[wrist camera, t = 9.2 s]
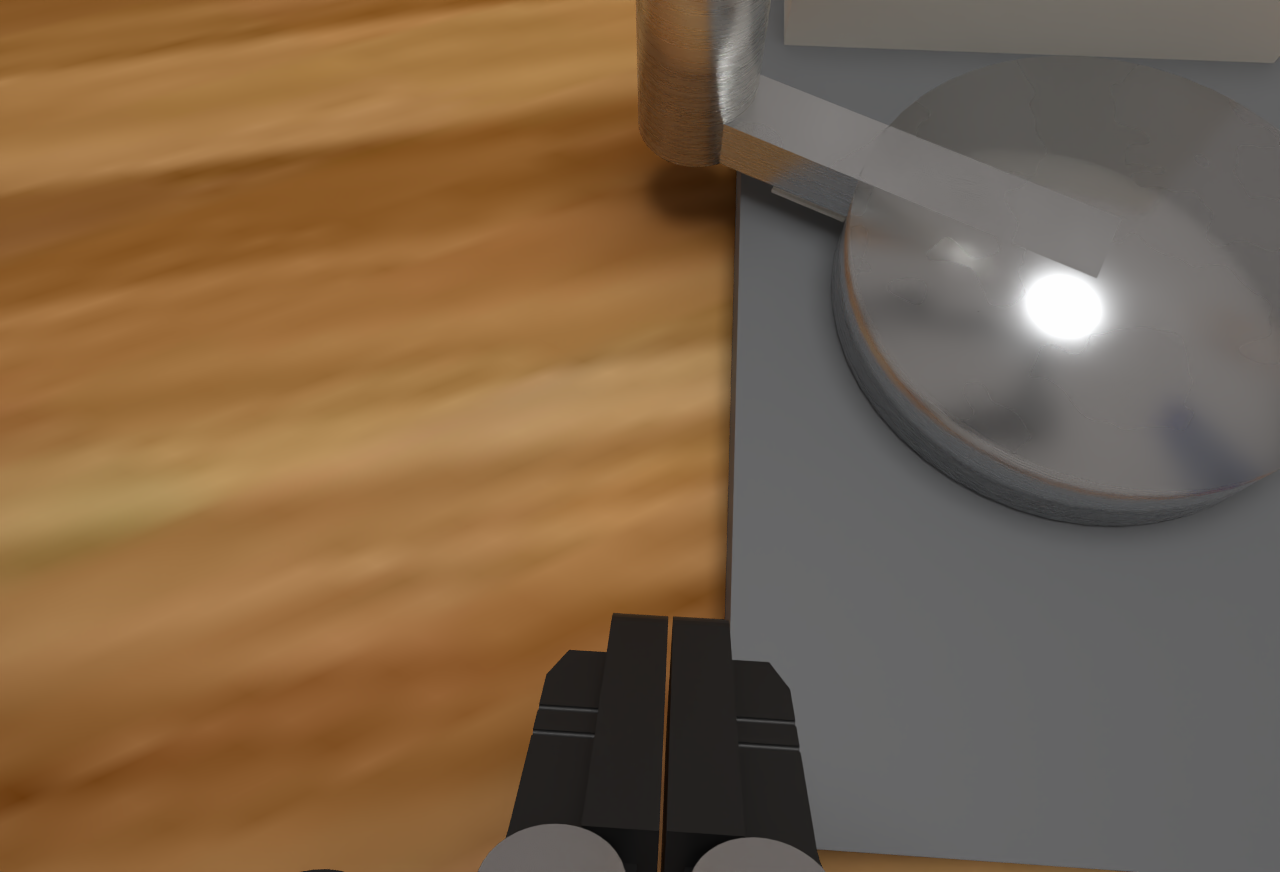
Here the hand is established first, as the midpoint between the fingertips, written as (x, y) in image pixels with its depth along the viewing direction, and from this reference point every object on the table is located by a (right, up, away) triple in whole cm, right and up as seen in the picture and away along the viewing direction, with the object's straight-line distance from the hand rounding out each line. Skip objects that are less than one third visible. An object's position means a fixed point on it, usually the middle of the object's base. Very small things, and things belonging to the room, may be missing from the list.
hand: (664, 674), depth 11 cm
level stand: (+9, +5, +9) cm, 14 cm away
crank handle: (+6, +7, +8) cm, 13 cm away
